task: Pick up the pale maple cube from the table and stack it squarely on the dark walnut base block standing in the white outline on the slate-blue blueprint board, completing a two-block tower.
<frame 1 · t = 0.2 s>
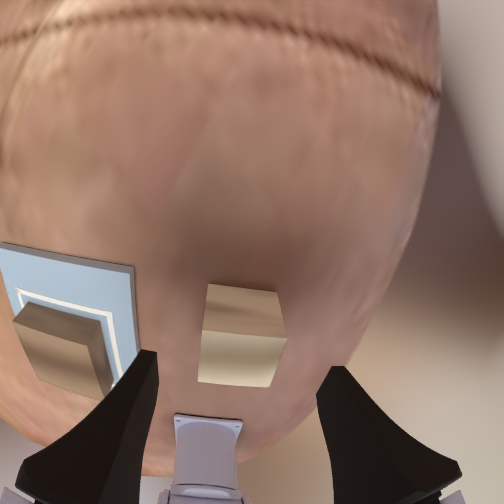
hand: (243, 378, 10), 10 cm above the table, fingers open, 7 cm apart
maple cube: (237, 314, 21), on the table
blueprint board: (74, 336, 22), on the table
walnut base block: (70, 343, 21), point 1 cm above the table, touching blueprint board
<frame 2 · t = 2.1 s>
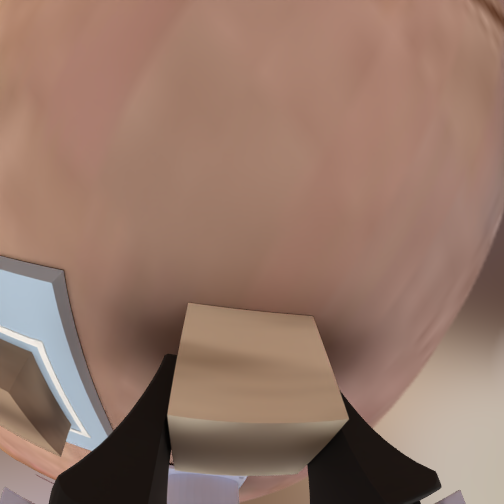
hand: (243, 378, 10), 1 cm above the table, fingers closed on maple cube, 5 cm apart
maple cube: (242, 354, 12), on the table, touching gripper
blueprint board: (15, 366, 12), on the table
walnut base block: (9, 375, 11), point 1 cm above the table, touching blueprint board
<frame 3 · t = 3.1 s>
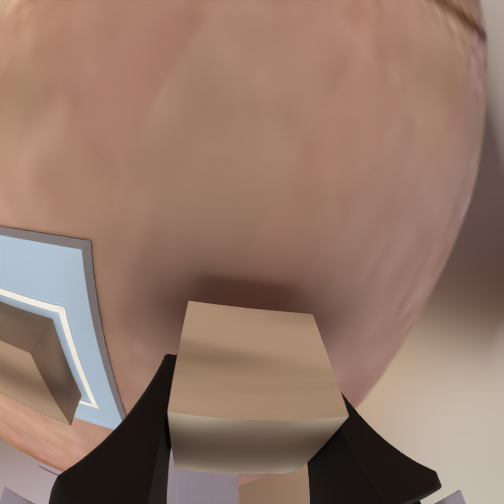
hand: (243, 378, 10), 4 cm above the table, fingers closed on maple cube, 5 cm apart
maple cube: (242, 352, 12), point 3 cm above the table, touching gripper
blueprint board: (31, 339, 15), on the table
walnut base block: (26, 348, 14), point 1 cm above the table, touching blueprint board
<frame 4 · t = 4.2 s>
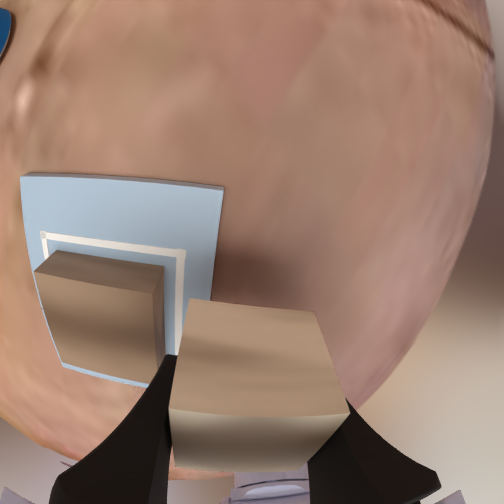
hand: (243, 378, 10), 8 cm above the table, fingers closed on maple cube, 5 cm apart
maple cube: (243, 350, 12), point 7 cm above the table, touching gripper
blueprint board: (115, 299, 18), on the table
walnut base block: (111, 307, 17), point 1 cm above the table, touching blueprint board
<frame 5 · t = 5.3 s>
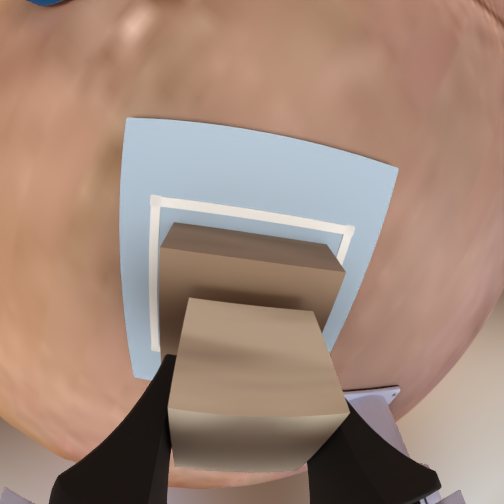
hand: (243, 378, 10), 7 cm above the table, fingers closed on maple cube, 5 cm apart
maple cube: (242, 349, 12), point 5 cm above the table, touching gripper
blueprint board: (239, 288, 17), on the table
walnut base block: (240, 298, 16), point 1 cm above the table, touching blueprint board
when the fingers open (7 cm above the table, at t = 6.2 s): maple cube drops 1 cm, resting on walnut base block.
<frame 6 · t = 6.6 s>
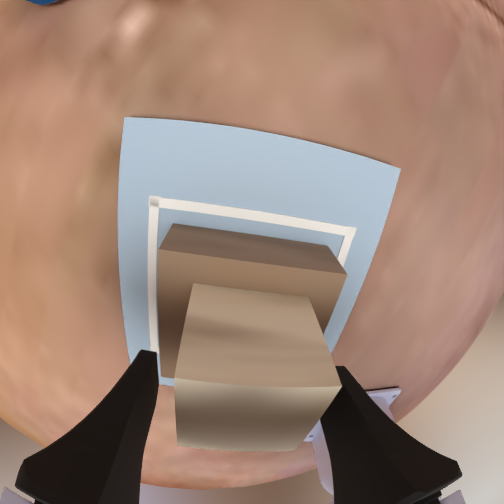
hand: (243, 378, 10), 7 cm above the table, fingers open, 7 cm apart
maple cube: (242, 334, 13), point 4 cm above the table, touching walnut base block
blueprint board: (239, 290, 16), on the table
walnut base block: (240, 300, 16), point 1 cm above the table, touching blueprint board, maple cube
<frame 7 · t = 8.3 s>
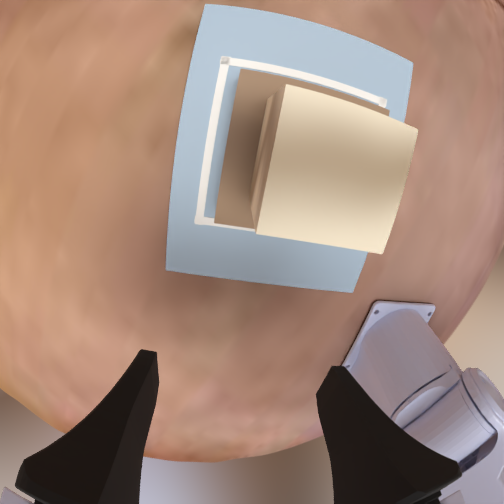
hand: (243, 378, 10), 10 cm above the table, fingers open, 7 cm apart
maple cube: (307, 157, 13), point 4 cm above the table, touching walnut base block
blueprint board: (290, 153, 17), on the table
walnut base block: (294, 154, 16), point 1 cm above the table, touching blueprint board, maple cube
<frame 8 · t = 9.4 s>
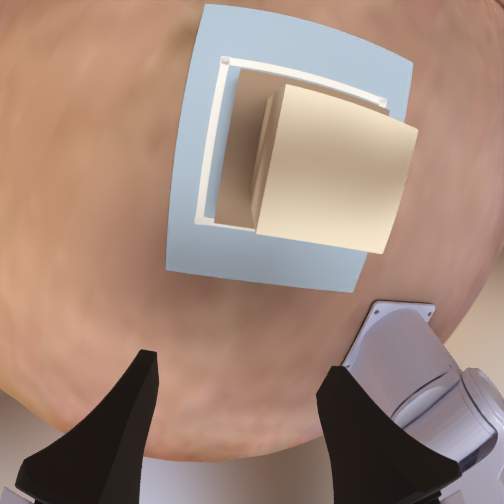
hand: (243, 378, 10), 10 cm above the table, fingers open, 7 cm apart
maple cube: (307, 157, 13), point 4 cm above the table, touching walnut base block
blueprint board: (290, 153, 17), on the table
walnut base block: (294, 154, 16), point 1 cm above the table, touching blueprint board, maple cube
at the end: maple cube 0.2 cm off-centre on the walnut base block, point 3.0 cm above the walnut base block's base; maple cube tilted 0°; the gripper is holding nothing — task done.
